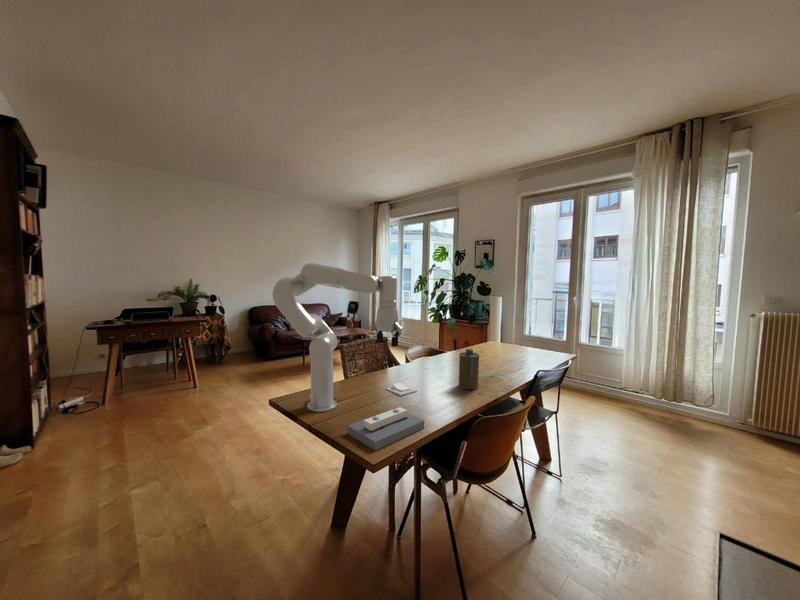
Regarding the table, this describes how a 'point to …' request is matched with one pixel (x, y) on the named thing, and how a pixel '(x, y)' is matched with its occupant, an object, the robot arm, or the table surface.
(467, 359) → the canister
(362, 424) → the mounting board
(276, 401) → the table surface
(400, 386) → the light switch
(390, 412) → the off-white connector bar
